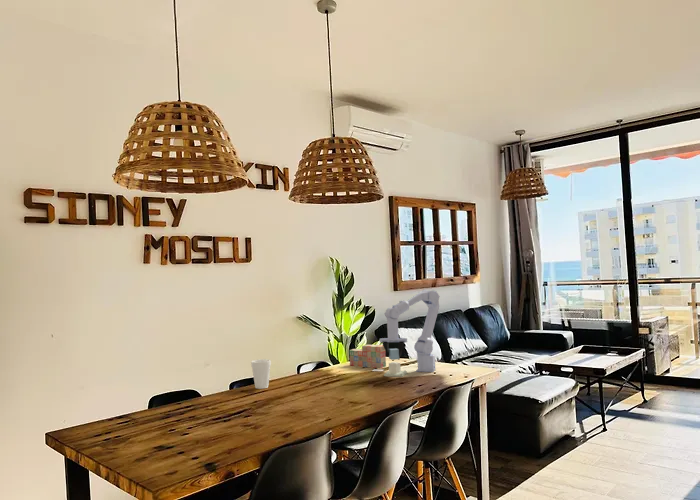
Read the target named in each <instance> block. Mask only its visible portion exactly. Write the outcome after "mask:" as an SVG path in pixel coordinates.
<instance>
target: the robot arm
mask: <svg viewBox="0 0 700 500" xmlns="http://www.w3.org/2000/svg"><path fill="white" fill-rule="evenodd" d="M439 300H440V294H439V293H438V292H437V290H434V289H431V290H430V289H423V290H421V291H418V293H416V294H415V295H413V296H412V297H411V298H409V299H408V300H399V302H398V303H396V304H393V305H392V306H391V307H387V308H386V310H385V312H384V315H385V318H386V328H387V337H384V338H383V337H382V338H379V343H382V344H381V345H383V346H384V348H385V351H386V357H389V349H390V347H389V344H390V343H398V344H397V345H398V349H399V357H401V356H402V352H403V348H404V345H405V343H408V338H407V337H406V338H405V337H399V318H400V316H401V315H402V314H404V313H406V312H407V311H409V309H410V307H411V306H414V305H415V304H416V303H419V302H423V303H424V304H425V305H426V306H427V308H428V310H427V312H426V313H427V314H426V317H425V321H424V324H423V328H422V331H421V335H420V336H419V337H417V340H416V342H415V343H414V351H416V358H417V369H416V370H415V371H416V372H422V373H425V372H426V373H433V372H435V371H436V370H437V369H436V356H435V354H432V352H433V349H434V346H433V344H434V341H433V339H432V336H433V332H434V329H435V324H436V320H437V317H438V313H439V310H440V302H439Z"/></svg>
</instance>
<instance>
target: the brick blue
mask: <svg viewBox="0 0 700 500" xmlns="http://www.w3.org/2000/svg"><path fill="white" fill-rule="evenodd" d="M388 359H389V360H392V361H394V360H400V356H399V348H389V356H388Z"/></svg>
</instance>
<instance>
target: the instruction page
mask: <svg viewBox="0 0 700 500" xmlns="http://www.w3.org/2000/svg"><path fill="white" fill-rule="evenodd" d="M383 371H384V369H380V368H373V369H372V370H371V372H383Z"/></svg>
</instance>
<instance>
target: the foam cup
mask: <svg viewBox="0 0 700 500" xmlns="http://www.w3.org/2000/svg"><path fill="white" fill-rule="evenodd" d="M250 363H251V364H250V365H251V369H252V375H253V381H254V388H255V389H259V390H261V389H268V387H269V385H270V384H269V383H270V373H271V372H270V371H271V365H272V360H271V359H266V358H263V359H253V360H251V362H250Z"/></svg>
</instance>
